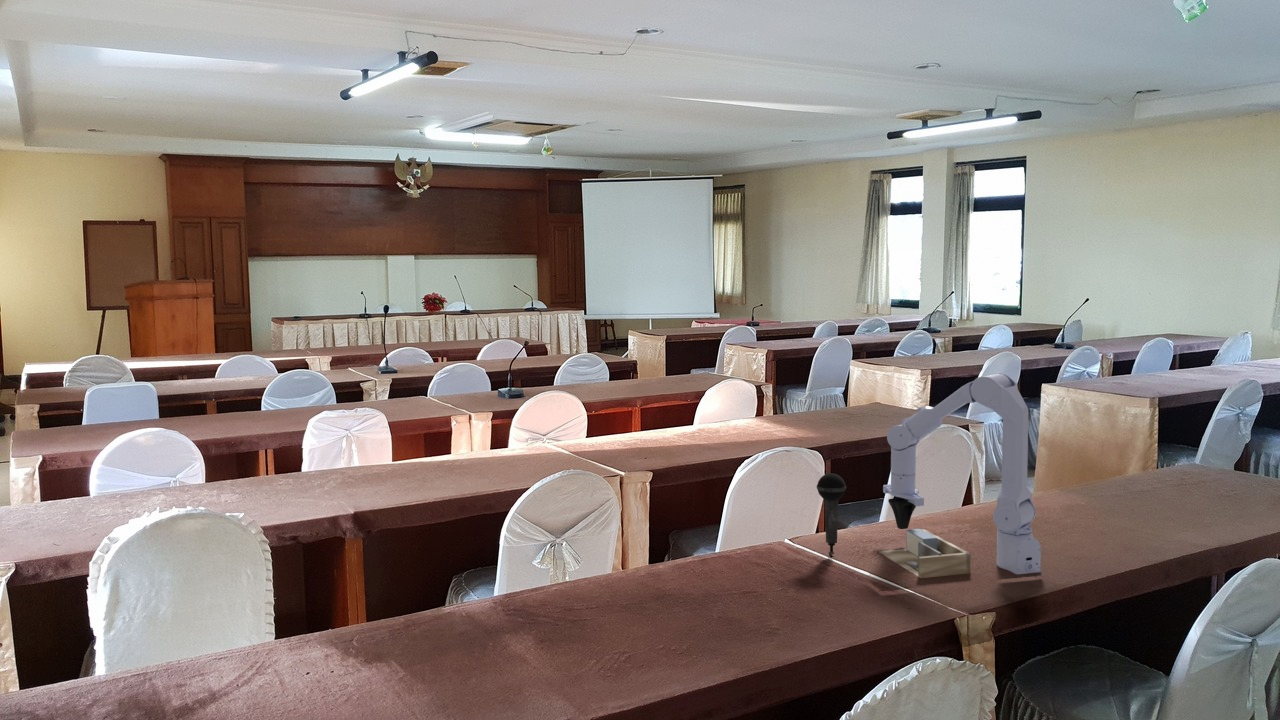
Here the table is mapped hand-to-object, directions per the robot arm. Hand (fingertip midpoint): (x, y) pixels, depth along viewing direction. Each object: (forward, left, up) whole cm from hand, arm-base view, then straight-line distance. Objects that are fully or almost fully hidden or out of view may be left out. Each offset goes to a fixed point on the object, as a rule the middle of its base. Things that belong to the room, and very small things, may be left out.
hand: (902, 528), depth 230 cm
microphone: (-2, +19, -5) cm, 20 cm away
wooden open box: (-14, +2, -5) cm, 15 cm away
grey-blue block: (-9, 0, -4) cm, 10 cm away
